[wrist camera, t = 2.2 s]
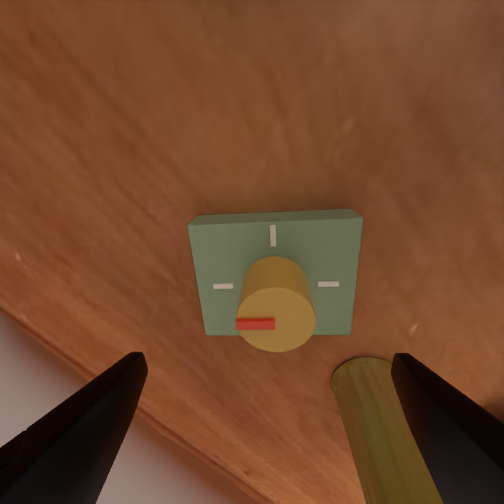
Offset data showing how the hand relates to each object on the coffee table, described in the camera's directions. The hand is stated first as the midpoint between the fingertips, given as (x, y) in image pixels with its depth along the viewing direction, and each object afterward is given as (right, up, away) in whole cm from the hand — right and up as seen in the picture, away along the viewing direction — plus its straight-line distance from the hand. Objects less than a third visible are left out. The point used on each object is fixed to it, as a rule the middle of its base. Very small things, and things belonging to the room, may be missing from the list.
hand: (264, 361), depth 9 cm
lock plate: (+1, +3, +11) cm, 11 cm away
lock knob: (+1, +2, +9) cm, 9 cm away
